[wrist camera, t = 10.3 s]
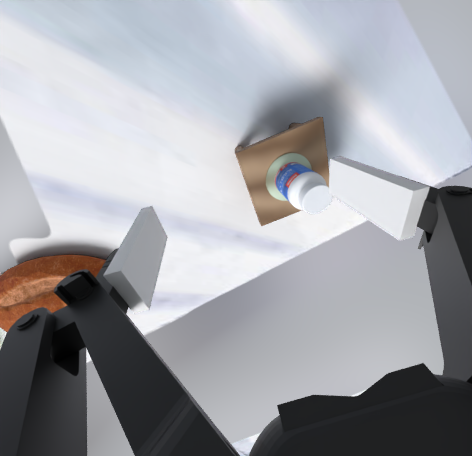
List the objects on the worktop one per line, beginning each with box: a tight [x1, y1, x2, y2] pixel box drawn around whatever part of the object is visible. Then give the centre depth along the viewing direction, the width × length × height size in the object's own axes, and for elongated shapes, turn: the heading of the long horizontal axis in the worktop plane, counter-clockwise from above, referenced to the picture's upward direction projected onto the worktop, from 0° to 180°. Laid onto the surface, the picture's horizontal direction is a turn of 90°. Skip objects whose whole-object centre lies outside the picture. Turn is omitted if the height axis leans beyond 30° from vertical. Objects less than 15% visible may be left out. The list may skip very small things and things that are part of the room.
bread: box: [0, 255, 106, 332], centre depth 45 cm, size 23×32×9 cm
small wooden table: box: [235, 117, 329, 226], centre depth 37 cm, size 14×14×9 cm
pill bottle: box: [275, 162, 333, 214], centre depth 29 cm, size 6×5×10 cm
